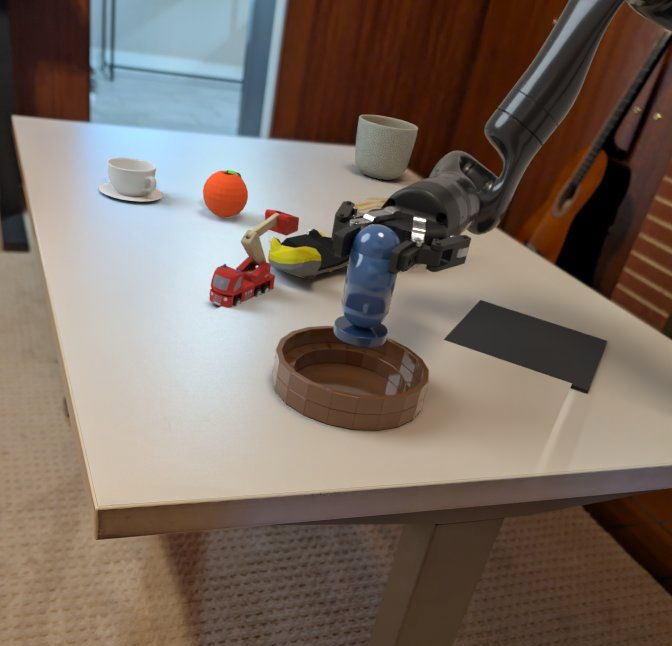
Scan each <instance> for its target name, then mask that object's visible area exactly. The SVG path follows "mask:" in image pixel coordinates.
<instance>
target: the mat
mask: <svg viewBox="0 0 672 646" xmlns="http://www.w3.org/2000/svg"><path fill="white" fill-rule="evenodd" d="M443 341H446V342H449V343H452V344H454V345H458V346H460V347H463V348H467V349H469V350H471V351H472V350H473V351H476V352H478V353H481V354H484V355H486V356H489V357H492V358H496V359H499V360H501V361H504V362H507V363H510V364H513V365H516V366H518V367H522V368H524V369H528V370H530V371H534V372H537V373H540V374H543V375H546V376H549V377H552V378H554V379H557V380H560V381H563V382H567V383H569V384H571V385H570V388H571V389H573V390H576V391H580V392H582V393H585V394H588V393H589V391H590V389H591V386H592V384H593V380H594V378H595V375H596V373H597V370H598V367H599V364H600V362H601V359H602V357H603V354H604V352H605V348H606V346H607V343H608V340H607V339H603V338H601V337H597V336H595V335H591V334H589V333H585V332H581V331H580V330H579V331H578V330H576V329H573V328H569V327H566V326H563V325H560V324H558V323H554V322H551V321H547V320H545V319H541V318H538V317H535V316H533V315H530V314H526V313H523V312H519V311H517V310H513V309H510V308H507V307H504V306H501V305H497V304H495V303H492V302H488V301H485V300H483V299H480V300H479V301H478V302H477V303H476V304H475V305H474V306H473V307H472V308H471V309H470V310H469V312H468V313H467V314H466V315H464V317H463V318H462V319H461V320H460V321H459V322H458V323H457V324H456V325H455V326H454V327H453V329H452V330H451V331H450V332H448V334H447V335H446V336H445V338H444V339H443Z"/></svg>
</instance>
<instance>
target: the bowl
mask: <svg viewBox="0 0 672 646" xmlns="http://www.w3.org/2000/svg"><path fill="white" fill-rule="evenodd" d="M333 329H334V325H318V326H317V325H316V326H307V327H304V328H299V329H295V330H293V331H291V332H288V333H287V334H286V335H284V336H283V337H281V338H280V339H279V341H278V343H277V346H276V348H275V352H274V360H273V367H272V375H271V382H272V386H273V389H274V392H275V393H276V394H277V395H278V397H279V398H280V399H281V400H282V401H283V403H285V404H286V405H287V406H288V407H290V408H292V409H293V410H295V411H296V412H298V413H300V414H302V415H303V416H305V417H308V418H311V419H313V420H316V421H318V422H321V423H323V424H326V425H330V426H334V427H339V428H343V429H344V428H345V429H349V430H361V431H381V430H389V429H393V428H399V427H401V426H403V425H404V424H406V423H409V422H411V421H413V420H414V419H415V418H416V416H417V415H418V414H419V413H420V412H421V410H422V408H423V403H424V400H425V396H426V393H427V390H428V389H427V388H428V385H429V381H430V369H429V368H428V366H427V365H426V363H425V361H424V360H423V358H422V357H421V356H419V355H418V354H417V353H415V352H414V351H413V350H412V349H410V348H409V347H408V346H406V345H403V344H402V343H400V342H398V341H396V340H394V339H392V338H389V337H387V338H386V342H385V343H384V344H383V345H381V346H378V347H370V348H369V347H359V346H354V345H350V344H348V343H345V342H343V341H341V340H340V339H338V338H337V337H336V336H335V335H334V333H333Z"/></svg>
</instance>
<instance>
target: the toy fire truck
mask: <svg viewBox="0 0 672 646" xmlns="http://www.w3.org/2000/svg"><path fill="white" fill-rule="evenodd" d="M299 222H300V217H298V216H296V215H293V214H290V213H286V212H283V211H280V210H278V209H277V210H276V209H271V208H270V209H265V212H264V221H262V222H261V223H259V224H258V225H257V226H256V227H254V228H253V229H247V230H246V232H245V233H244V235H243V237H242V238H241V240H240V244H241V245H242V247H243V249H244V251H245V253H246V254H247V257H246V258H245V259H244V260H243V261H242V262H241V263H240V264H239V265H238V266H237V267H236V268H233V267H230V266H228V265H227V264H226V263H223V264H222V265H220V266H217V267H216V268H215V270H214V272H213V274H212V277H211V281H210V289H209V302H211V303H212V304H214V305H216V306H217V307H220V308H221V307H223V308H229V309H230V308H233V307H237V306H238V305H241V304H242V303H244V302H246V301H249V300H251V299H252V298H253V299H254V298H258V296H261V295H262V294H263V295H265V294H266V293H268V292H270V291H271V290H273V289H274V288H275V281H276V280H275V279H276V275H275V274H273V273H271V269H272V268H271V267H272V266H271V264H270V263H269V262H267V259H266V255H265V251H264V248H263V245H262V242H261V236H263V235H264V234H265V233H267V232H268V231H272V232H274V233H277V234H280V235H283V236H289V235H292V234H294V233H296V232H298V231H299Z"/></svg>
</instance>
